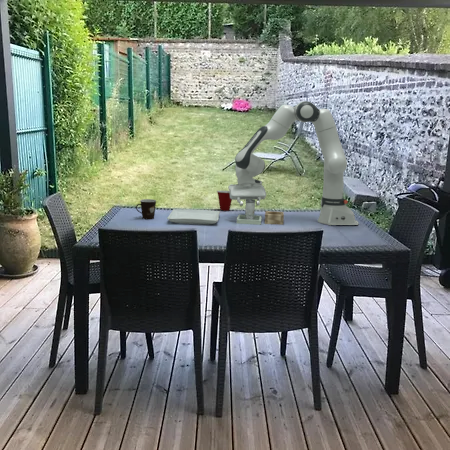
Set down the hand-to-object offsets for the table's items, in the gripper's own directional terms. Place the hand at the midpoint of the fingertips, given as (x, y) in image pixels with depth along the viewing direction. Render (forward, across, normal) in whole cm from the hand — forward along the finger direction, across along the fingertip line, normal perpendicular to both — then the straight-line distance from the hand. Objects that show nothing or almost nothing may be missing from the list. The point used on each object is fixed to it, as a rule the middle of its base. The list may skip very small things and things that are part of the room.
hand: (249, 205), depth 277 cm
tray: (+7, 0, +7) cm, 10 cm away
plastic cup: (-19, -5, +33) cm, 38 cm away
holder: (+9, +13, +5) cm, 17 cm away
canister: (+7, 0, +6) cm, 9 cm away
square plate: (0, -29, +15) cm, 32 cm away
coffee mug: (-4, -55, +19) cm, 58 cm away
